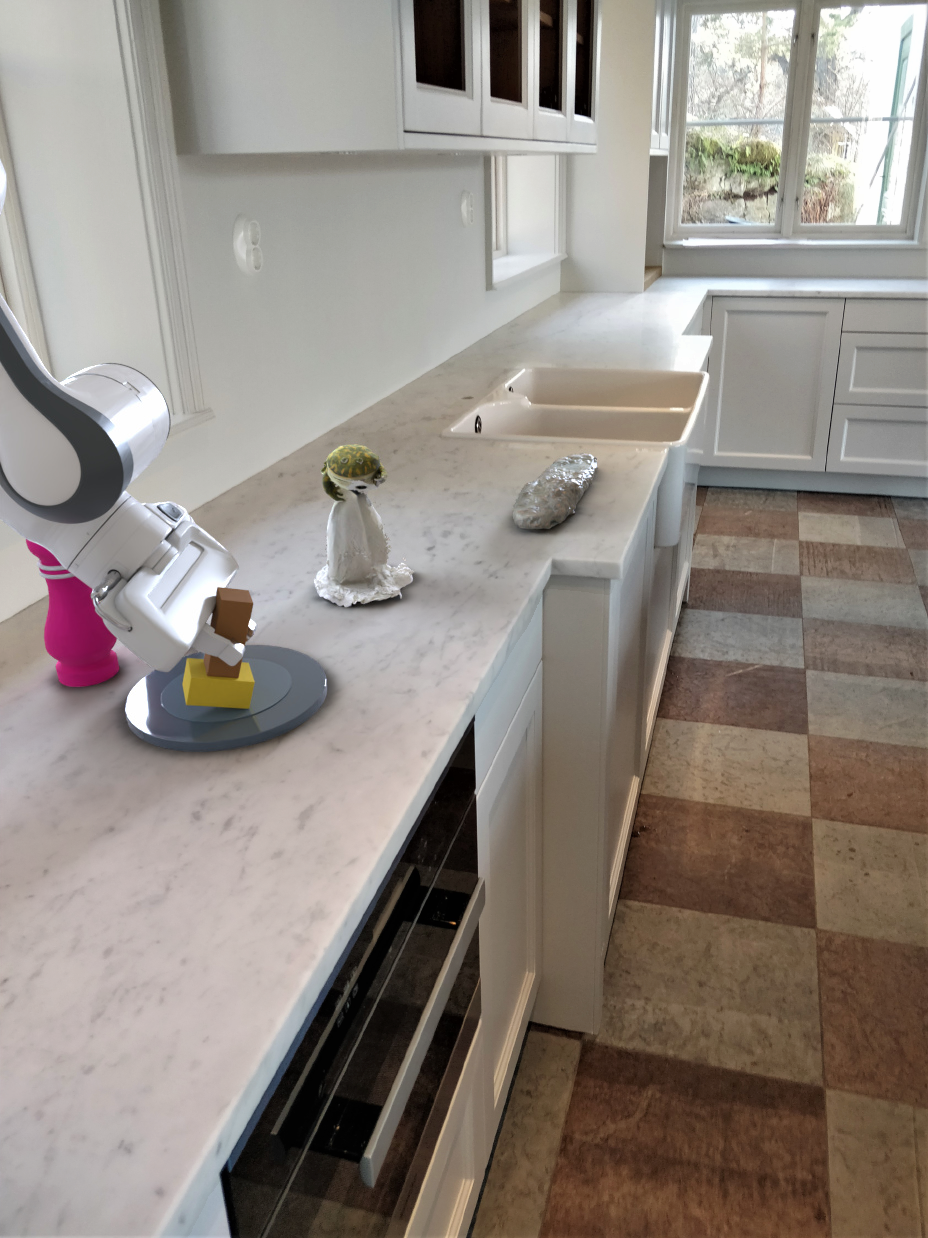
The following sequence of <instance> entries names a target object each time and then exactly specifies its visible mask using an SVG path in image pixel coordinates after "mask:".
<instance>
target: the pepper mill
mask: <svg viewBox="0 0 928 1238" xmlns="http://www.w3.org/2000/svg"><path fill="white" fill-rule="evenodd" d="M25 543H26V546H27V549H28V551H29V553H31V554H32V555H33V556H35V557H36V558H38V560H37V562H36V566H37V568H38V569H39V571H38V574H39V576H40V577H42V578H43V579H44V580H45V583H46V585H47V592H48V609H47V614H46V619H45V622H44V623H45V624H44V629H43V642H44V647H45V650H46V652H47V654H48V655H49V656H51V657H52V659H55V660H56V661H57V662H56V664H55V671H56V675H57V679H58V682H59V683H60V684H61V685H63V686H66V687H71V688H83V687H90V686H95V685H99V684H101V683H103V682H106V681H108V680H110V679H111V678H113V677H114V676H115V675H117V674H118V673H119V671H120V664H119V658H118V655H117V652H116V651H115V650H113V648H114V646H115V645H116V643H117V640H118V639H117V638H116V637H115V636H114V635H113V634H112V633H111V632H110V631H109V630H108V628H107V627H106V626H105V624H104V622H103V618H101V617H100V616H99V615H98V614H97V613H96V611H95V606H94V604H93V600H92V598H91V593H92V591H93V589H92V588H90V587H89V586H88V585H86V584H85V583H84V582H82V581H81V580H80V579H78V578H77V577H76V576H74V575H73V574H72V573H71V572H69V571H68V570H66V569H65V568H64V567H63V566H62V565H61V564H60V562H59V561H58V560H57V558H56V557H55V556H54V555H53V554H52V553H51V552H50V551H49V550H47V549H46V548H44V547H43V546H41V545H39V544H36V543H34V542H31V541H29V540H27V539H25ZM98 603H99V604H100V603H101V601H99V602H98Z"/></svg>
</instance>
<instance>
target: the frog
mask: <svg viewBox="0 0 928 1238" xmlns="http://www.w3.org/2000/svg"><path fill="white" fill-rule="evenodd" d="M380 458H381V456H380V455H377V454H376V453H375V452H372V449H370V447H368V446H366V445H362V444H356V443H355V444H344V445H339V446H338V447H336V448H335V449H334V450H333V451H332V452H330V453H329V454H328V455H327V456H326V460H325V461H324V462H323V467H322V468H321V469H320V471H319V472H320V473H321V474H322V480H321V484H322V489H323V491H324V492H325V494H326V495H327V496H328V497H330V498H331V499H332V500H334V501H333V505H332V508H331V510H330V513H329V516H328V520H327V527H326V540H325V541H326V548H327V549H326V548H324V550H326V554H325V557H326V558H327V559H326V565H324V566H323V567H322V568H321V569H320V570H319V571H318V572H317V573H316V576H315V577H314V579H313V584H314V587H315V590H316V592H317V594H318V596H319V597H320V598H324V599H325V600H329V601H330V602H331V603H333V604H334V603H335V604H336V605H337V606H339V607H342V606H344V608H349V607H352V604H353V605H356V604H357V602H360V604H363V605H365V604H368V603H370V602H372V601H383V600H387V599H389V598H394V597H397V596H398V595H399V598H400V599H402V598H403V595H402V593H401V589H402V588H405V587H406V586H408V585H410V584H411V583H413V581H414V579H413V574H414V573H415V570H412V569H411V568H409V567H408V565H407V564H406V563H404V562H406V561H407V559H406V558H405V557H403V558H402V559H403V561H404V562H400V563H398V566H397V567H396V566H391V565H390V564H388V560H389V553H390V552H391V550H392V545H390V544H389V542H391V539H390V537H388V534H387V533H385V528H384V524H383V523H382V518H381V515H380V514H379V513H378V512H377V510H376V508H375V507H374V504H377V502H376V501H374V504H373V503H372V500H371V499H370V498H369V496H368V492H370V491H371V490H373V491H374V490H375V491H376V490H379V486H380V485H383V484H384V483H386V481H387V479H388V477H389V475H388V474H389V473H388V472H387V469H386V468H385V466H384V465H383V464H382V462H381V459H380ZM336 485H337V486H336ZM379 505H380V506H381V505H382V503H379ZM388 541H389V542H388Z"/></svg>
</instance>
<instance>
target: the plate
mask: <svg viewBox="0 0 928 1238" xmlns="http://www.w3.org/2000/svg"><path fill="white" fill-rule="evenodd" d="M245 649H246V650H245V653H244V655H243V658H242V662H245V663H249V666H250V669H251V672H252V675H253V679H254V682H255V683H254V688H253V693H252V698H251V702H250V707H249V709H244V708H227V707H210V706H193V705H186V701H185V696H184V690H183V685H182V684H183V678H184V673H185V667H186V661H187V658H194V659H204V656H205V653H202V652H198V651H197V652H195V653H191V654H188V655H184V656H183V657H182V659H181V660H180V661H179V662H178V663H177V664H176V665H175V666H174V667H173V668H172V669H171V670H170V671H169V672H162V671H158V670H154V669H153V670H152V671H151V672H149V673H148V674H146V675H145V676H144V677H143V678H141V679H139V681H138V682H137V683H136V684H135V685H134V686H133V687H132V688H131V690H130V691H129V693H128V695H127V697H126V699H125V703H124V714H125V719H126V721H127V726H128V727H129V729H130V730H131V732H132V733H133V734H134V735H135V736H137V738H139V739H141V740H142V741H144V742H146V743H147V744H151V745H153V746H155V747H159V748H162V749H166V750H171V751H178V752H188V753H189V752H191V753H202V752H203V753H208V752H220V751H229V750H235V749H239V748H244V747H245V748H246V747H249V746H253V745H257V744H260V743H265V742H267V741H269V740H272V739H275V738H277V737H279V736H281V735H284V734H286V733H288V732H290V731H292V730H294V729H296V728H297V727H299V726H301V725H302V724H303V723H305V722H307V721H308V720H309V719H310V718H311V717H312V716H314V715H315V714H316V712H317V711H318V710H319V709H320V708H321V707H322V706H323V704H324V702H325V700H326V697H327V695H328V681H327V680H328V679H327V675H326V672H325V670H324V668H323V667H322V665H321V664H320V663H319V662H318V661H317V660H315V659H314V658H313V657H311V656H310V655H307V654H306V653H303V652H301V651H300V650H295V649H292V648H289V647H288V648H287V647H282V646H277V645H269V644H267V645H266V644H245Z"/></svg>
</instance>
